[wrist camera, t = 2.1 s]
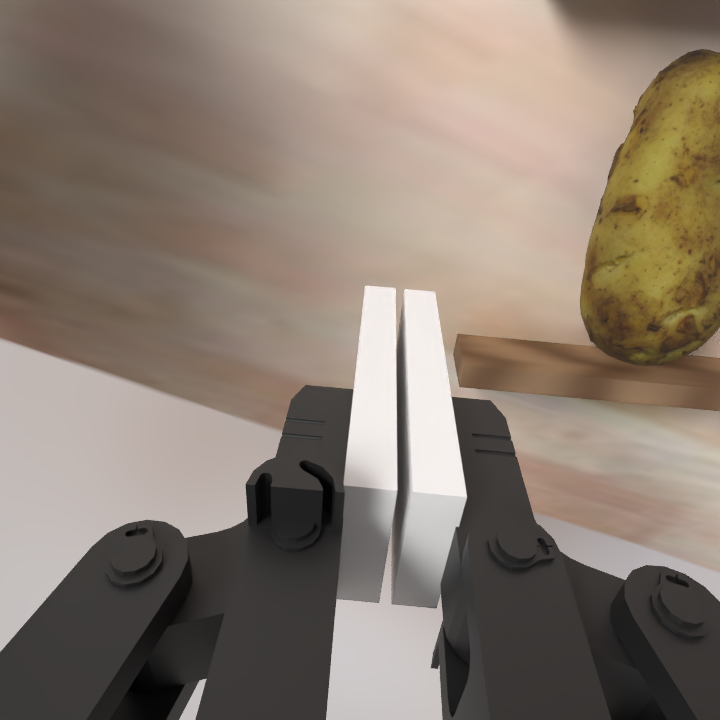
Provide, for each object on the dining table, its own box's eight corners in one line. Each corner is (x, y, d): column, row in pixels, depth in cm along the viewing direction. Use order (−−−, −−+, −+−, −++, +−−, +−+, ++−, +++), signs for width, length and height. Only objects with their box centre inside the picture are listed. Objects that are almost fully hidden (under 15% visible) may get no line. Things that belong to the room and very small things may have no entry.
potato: (804, 109, 24) (960, 142, 18) (624, 325, 31) (688, 408, 24) (660, 27, 23) (771, 29, 16) (505, 272, 30) (537, 345, 23)
